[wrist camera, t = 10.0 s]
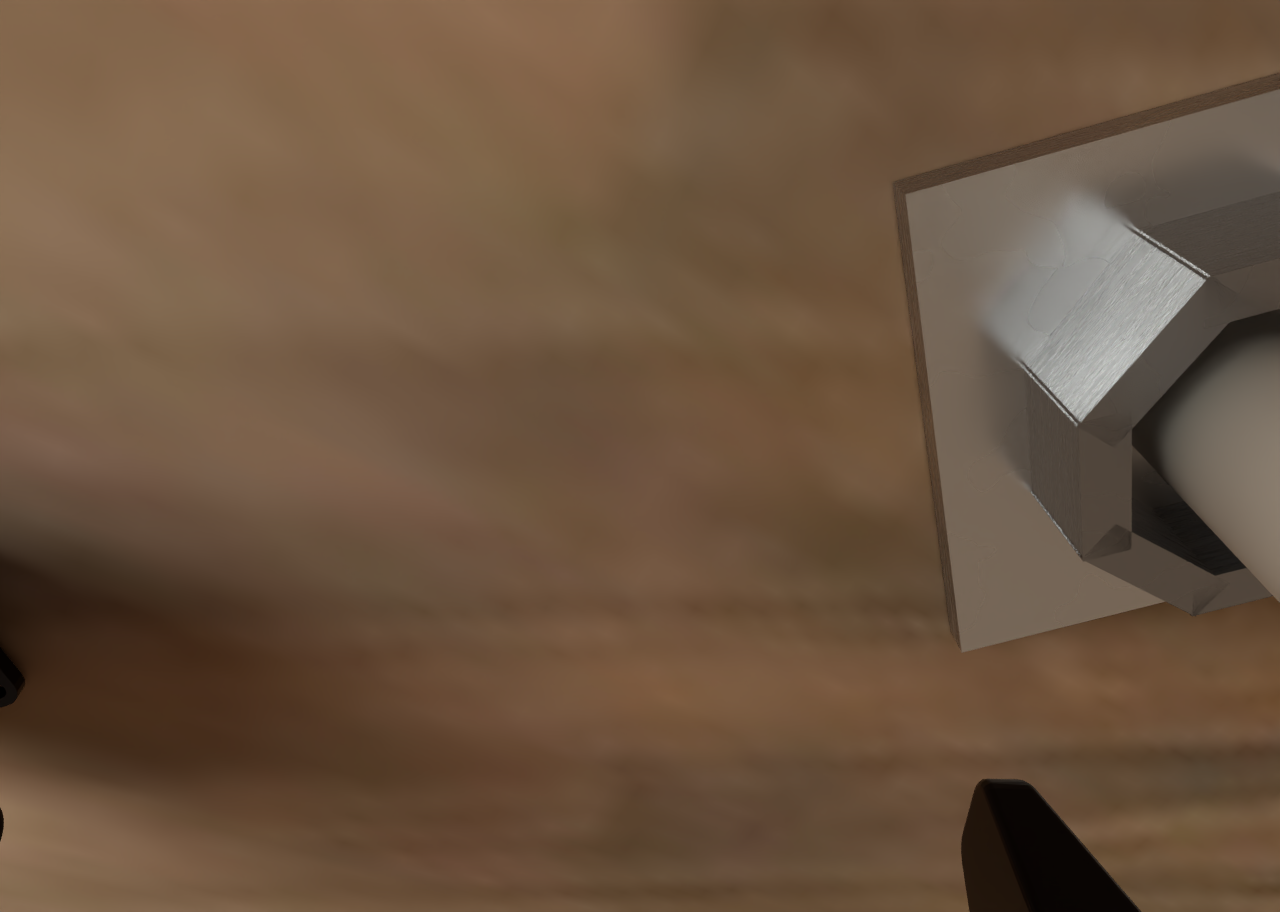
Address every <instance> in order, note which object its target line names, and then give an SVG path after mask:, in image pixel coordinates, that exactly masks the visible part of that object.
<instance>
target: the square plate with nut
mask: <svg viewBox="0 0 1280 912" xmlns="http://www.w3.org/2000/svg"><path fill="white" fill-rule="evenodd" d="M893 188H894V196H895V204H896V212H897V219H898V227H899V235H900V243H901V250H902V258H903V266H904V274H905V281H906V289H907V297H908V305H909V312H910V320H911V328H912V336H913V344H914V351H915V359H916V367H917V375H918V382H919V390H920V398H921V406H922V413H923V421H924V429H925V437H926V444H927V452H928V460H929V468H930V475H931V483H932V491H933V499H934V506H935V514H936V522H937V530H938V537H939V545H940V553H941V561H942V568H943V576H944V584H945V592H946V600H947V607H948V615H949V623H950V631H951V633H952V635H953V637H954V639H955V641H956V643H957V645H958V646H959V648H960V650H961V652H966V651H970V650H974V649H978V648H982V647H986V646H990V645H994V644H998V643H1002V642H1006V641H1010V640H1014V639H1018V638H1022V637H1026V636H1030V635H1034V634H1038V633H1042V632H1046V631H1050V630H1054V629H1058V628H1062V627H1066V626H1070V625H1074V624H1078V623H1082V622H1086V621H1090V620H1094V619H1098V618H1102V617H1106V616H1110V615H1114V614H1118V613H1122V612H1126V611H1130V610H1134V609H1138V608H1142V607H1146V606H1150V605H1154V604H1158V603H1162V602H1167V603H1169V604H1171V605H1173V606H1175V607H1177V608H1179V609H1181V610H1183V611H1185V612H1187V613H1189V614H1190V615H1191V616H1196V615H1199V614H1203V613H1207V612H1211V611H1215V610H1219V609H1223V608H1227V607H1231V606H1235V605H1239V604H1243V603H1247V602H1251V601H1255V600H1259V599H1263V598H1267V597H1271V596H1273V595H1272V594H1271V593H1270V592H1269V591H1268V590H1267V589H1266V588H1265V587H1264V586H1263V585H1262V584H1261V582H1260V581H1259V580H1258V579H1257V578H1256V577H1255V576H1254V575H1253V574H1252V573H1251V572H1250V571H1249V570H1248V569H1247V567H1246V566H1245V565H1244V564H1243V563H1242V562H1241V561H1240V560H1239V559H1238V558H1237V557H1236V556H1235V555H1234V554H1233V553H1232V551H1231V550H1230V549H1229V548H1228V547H1227V546H1226V545H1225V544H1224V543H1223V542H1222V541H1221V540H1220V539H1219V538H1218V536H1217V535H1216V534H1215V533H1214V532H1213V531H1212V530H1211V529H1210V528H1209V527H1208V526H1207V525H1206V524H1205V523H1204V522H1203V520H1202V519H1201V518H1200V517H1199V516H1198V515H1197V514H1196V513H1195V512H1194V511H1193V510H1192V509H1191V508H1190V507H1189V505H1188V504H1187V503H1186V502H1185V501H1184V500H1183V499H1182V498H1181V497H1180V496H1179V495H1178V494H1177V493H1176V492H1175V491H1174V489H1173V488H1172V487H1171V486H1170V485H1169V484H1168V483H1167V482H1166V481H1165V480H1164V479H1163V478H1162V477H1161V476H1160V474H1159V473H1158V472H1157V471H1156V470H1155V469H1154V468H1153V467H1152V466H1151V465H1150V464H1149V463H1148V462H1147V461H1146V460H1145V458H1144V457H1143V456H1142V455H1141V454H1140V453H1139V452H1138V451H1137V450H1136V449H1135V448H1134V447H1133V446H1132V429H1133V428H1134V426H1135V425H1136V424H1137V423H1138V422H1139V421H1140V420H1141V419H1142V418H1143V417H1144V415H1145V414H1146V413H1147V412H1148V411H1149V410H1150V409H1151V408H1152V407H1153V406H1154V405H1155V403H1156V402H1157V401H1158V400H1159V399H1160V398H1161V397H1162V396H1163V395H1164V394H1165V392H1166V391H1167V390H1168V389H1169V388H1170V387H1171V386H1172V385H1173V384H1174V383H1175V381H1176V380H1177V379H1178V378H1179V377H1180V376H1181V375H1182V374H1183V373H1184V372H1185V371H1186V369H1187V368H1188V367H1189V366H1190V365H1191V364H1192V363H1193V362H1194V361H1195V360H1196V358H1197V357H1198V356H1199V355H1200V354H1201V353H1202V352H1203V351H1204V350H1205V349H1206V347H1207V346H1208V345H1209V344H1210V343H1211V342H1212V341H1213V340H1214V339H1215V338H1216V337H1217V335H1218V334H1219V333H1220V332H1221V331H1222V330H1223V329H1224V328H1225V327H1226V326H1227V324H1228V323H1229V322H1232V321H1236V320H1239V319H1243V318H1247V317H1251V316H1254V315H1258V314H1262V313H1266V312H1269V311H1273V310H1277V309H1280V73H1278V74H1275V75H1271V76H1268V77H1264V78H1261V79H1257V80H1253V81H1250V82H1246V83H1243V84H1239V85H1236V86H1232V87H1229V88H1225V89H1222V90H1218V91H1214V92H1211V93H1207V94H1204V95H1200V96H1197V97H1193V98H1190V99H1186V100H1183V101H1179V102H1176V103H1172V104H1168V105H1165V106H1161V107H1158V108H1154V109H1151V110H1147V111H1144V112H1140V113H1137V114H1133V115H1130V116H1126V117H1122V118H1119V119H1115V120H1112V121H1108V122H1105V123H1101V124H1098V125H1094V126H1091V127H1087V128H1084V129H1080V130H1076V131H1073V132H1069V133H1066V134H1062V135H1059V136H1055V137H1052V138H1048V139H1045V140H1041V141H1038V142H1034V143H1030V144H1027V145H1023V146H1020V147H1016V148H1013V149H1009V150H1006V151H1002V152H999V153H995V154H991V155H988V156H984V157H981V158H977V159H974V160H970V161H967V162H963V163H960V164H956V165H953V166H949V167H945V168H942V169H938V170H935V171H931V172H928V173H924V174H921V175H917V176H914V177H910V178H907V179H903V180H899V181H896V182H893Z"/></svg>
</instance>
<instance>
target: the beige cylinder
mask: <svg viewBox="0 0 1280 912" xmlns="http://www.w3.org/2000/svg"><path fill="white" fill-rule="evenodd" d="M1132 446H1133V447H1134V448H1135V449H1136V450H1137V451H1138V452H1139V453H1140V454H1141V455H1142V456H1143V457H1144V458H1145V460H1146V461H1147V462H1148V463H1149V464H1150V465H1151V466H1152V467H1153V468H1154V469H1155V470H1156V471H1157V472H1158V473H1159V474H1160V476H1161V477H1162V478H1163V479H1164V480H1165V481H1166V482H1167V483H1168V484H1169V485H1170V486H1171V487H1172V488H1173V489H1174V491H1175V492H1176V493H1177V494H1178V495H1179V496H1180V497H1181V498H1182V499H1183V500H1184V501H1185V502H1186V503H1187V504H1188V505H1189V507H1190V508H1191V509H1192V510H1193V511H1194V512H1195V513H1196V514H1197V515H1198V516H1199V517H1200V518H1201V519H1202V520H1203V522H1204V523H1205V524H1206V525H1207V526H1208V527H1209V528H1210V529H1211V530H1212V531H1213V532H1214V533H1215V534H1216V535H1217V536H1218V538H1219V539H1220V540H1221V541H1222V542H1223V543H1224V544H1225V545H1226V546H1227V547H1228V548H1229V549H1230V550H1231V551H1232V553H1233V554H1234V555H1235V556H1236V557H1237V558H1238V559H1239V560H1240V561H1241V562H1242V563H1243V564H1244V565H1245V566H1246V567H1247V569H1248V570H1249V571H1250V572H1251V573H1252V574H1253V575H1254V576H1255V577H1256V578H1257V579H1258V580H1259V581H1260V582H1261V584H1262V585H1263V586H1264V587H1265V588H1266V589H1267V590H1268V591H1269V592H1270V593H1271V594H1272V595H1273V596H1274V597H1275V598H1276V600H1277V601H1278V602H1279V603H1280V309H1277V310H1273V311H1269V312H1266V313H1262V314H1258V315H1254V316H1251V317H1247V318H1243V319H1239V320H1236V321H1232V322H1229V323H1228V324H1227V326H1226V327H1225V328H1224V329H1223V330H1222V331H1221V332H1220V333H1219V334H1218V335H1217V337H1216V338H1215V339H1214V340H1213V341H1212V342H1211V343H1210V344H1209V345H1208V346H1207V347H1206V349H1205V350H1204V351H1203V352H1202V353H1201V354H1200V355H1199V356H1198V357H1197V358H1196V360H1195V361H1194V362H1193V363H1192V364H1191V365H1190V366H1189V367H1188V368H1187V369H1186V371H1185V372H1184V373H1183V374H1182V375H1181V376H1180V377H1179V378H1178V379H1177V380H1176V381H1175V383H1174V384H1173V385H1172V386H1171V387H1170V388H1169V389H1168V390H1167V391H1166V392H1165V394H1164V395H1163V396H1162V397H1161V398H1160V399H1159V400H1158V401H1157V402H1156V403H1155V405H1154V406H1153V407H1152V408H1151V409H1150V410H1149V411H1148V412H1147V413H1146V414H1145V415H1144V417H1143V418H1142V419H1141V420H1140V421H1139V422H1138V423H1137V424H1136V425H1135V426H1134V428H1133V429H1132Z"/></svg>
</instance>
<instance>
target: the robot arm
mask: <svg viewBox="0 0 1280 912" xmlns="http://www.w3.org/2000/svg"><path fill="white" fill-rule="evenodd" d="M0 685H1V686H0V707H4V706H7V705H9V704H11V703H13V702H14V701H15V700H16V698H17V697H18V695H19V694H20V692H21V691H22V689H23V687H24V686H25V679H24V677H23V675H22V673H21V672H20V671H19V670H18V668H17V667H16V666H15V665H14V664H13V662H12V661H11V660H10V659H9V657H8V656H7V655H6V654H5V652H4V651H3V650H2V649H1V648H0ZM3 828H4V818H3V813H2V810H1V808H0V841H1V837H2V833H3ZM961 854H962V865H963V872H964V878H965V885H966V891H967V898H968V905H969V911H970V912H1141V911H1140V909H1139V908H1138V907H1137V906H1136V905H1135V904H1134V903H1133V901H1132V900H1131V899H1130V898H1129V897H1128V896H1127V894H1126V893H1125V892H1124V891H1123V890H1122V889H1121V887H1120V886H1119V885H1118V884H1117V883H1116V882H1115V881H1114V879H1113V878H1112V877H1111V876H1110V875H1109V874H1108V872H1107V871H1106V870H1105V869H1104V868H1103V867H1102V865H1101V864H1100V863H1099V862H1098V861H1097V860H1096V859H1095V857H1094V856H1093V855H1092V854H1091V853H1090V852H1089V850H1088V849H1087V848H1086V847H1085V846H1084V845H1083V843H1082V842H1081V841H1080V840H1079V839H1078V838H1077V837H1076V835H1075V834H1074V833H1073V832H1072V831H1071V830H1070V828H1069V827H1068V826H1067V825H1066V824H1065V823H1064V821H1063V820H1062V819H1061V818H1060V817H1059V816H1058V814H1057V813H1056V812H1055V811H1054V810H1053V809H1052V808H1051V806H1050V805H1049V804H1048V803H1047V802H1046V801H1045V799H1044V798H1043V797H1042V796H1041V795H1040V794H1039V792H1038V791H1037V790H1036V789H1035V788H1034V787H1033V786H1032V785H1030V784H1029V783H1027V782H1025V781H1023V780H1018V779H983V780H981V781H980V782H979V783H978V784H977V785H976V787H975V790H974V794H973V797H972V801H971V805H970V808H969V812H968V816H967V820H966V823H965V827H964V831H963V835H962V843H961Z"/></svg>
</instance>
